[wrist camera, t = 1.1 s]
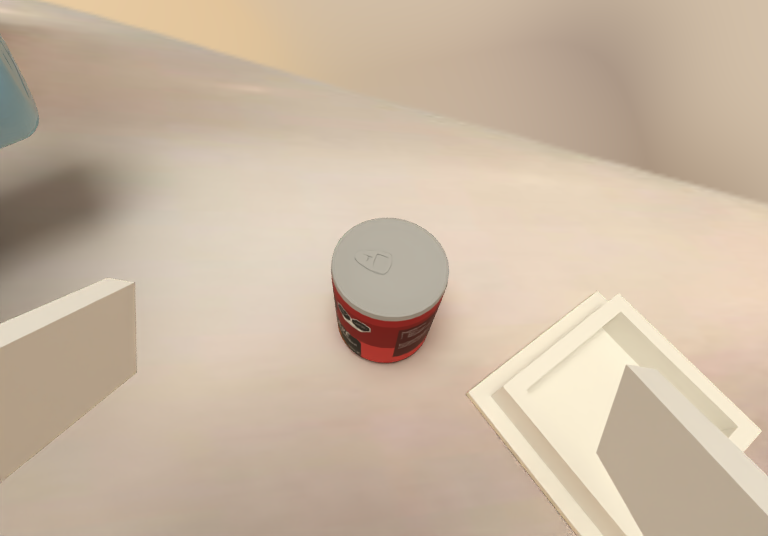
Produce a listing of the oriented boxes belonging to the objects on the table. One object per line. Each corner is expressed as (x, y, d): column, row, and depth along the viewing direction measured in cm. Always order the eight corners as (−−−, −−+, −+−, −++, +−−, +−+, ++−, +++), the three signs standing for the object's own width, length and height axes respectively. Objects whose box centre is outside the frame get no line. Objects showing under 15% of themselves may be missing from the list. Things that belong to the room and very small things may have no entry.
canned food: (340, 282, 40) (334, 213, 31) (426, 286, 41) (447, 218, 31) (334, 364, 37) (325, 315, 27) (428, 367, 37) (453, 320, 27)
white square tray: (465, 394, 36) (478, 382, 32) (593, 294, 41) (616, 273, 37) (615, 585, 30) (651, 597, 27) (742, 442, 35) (787, 435, 32)
